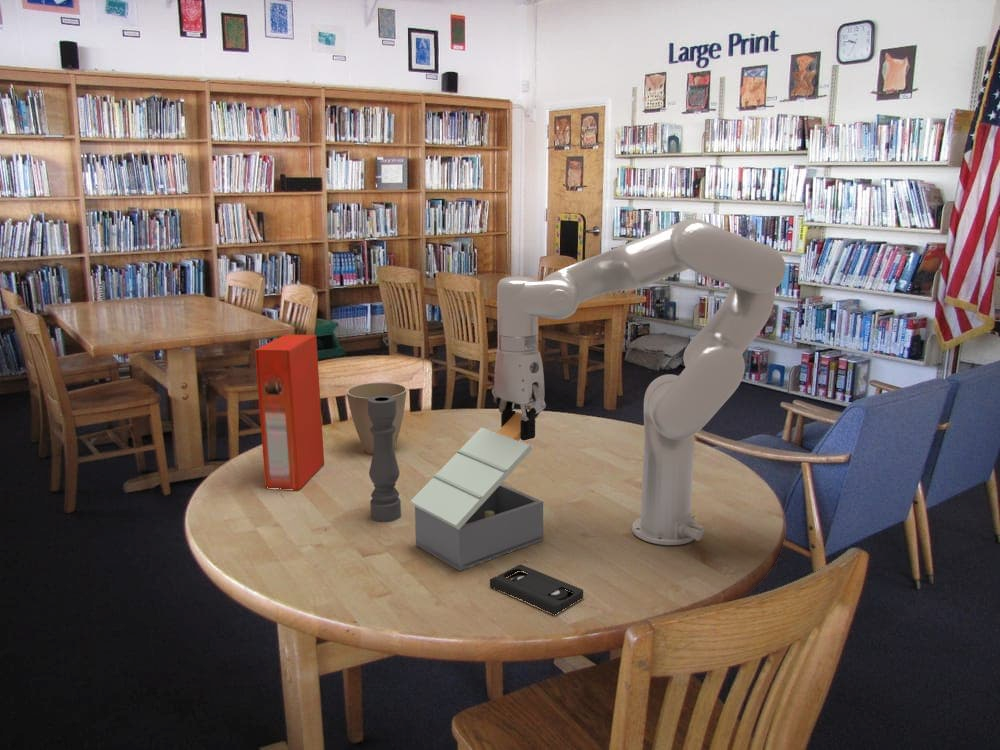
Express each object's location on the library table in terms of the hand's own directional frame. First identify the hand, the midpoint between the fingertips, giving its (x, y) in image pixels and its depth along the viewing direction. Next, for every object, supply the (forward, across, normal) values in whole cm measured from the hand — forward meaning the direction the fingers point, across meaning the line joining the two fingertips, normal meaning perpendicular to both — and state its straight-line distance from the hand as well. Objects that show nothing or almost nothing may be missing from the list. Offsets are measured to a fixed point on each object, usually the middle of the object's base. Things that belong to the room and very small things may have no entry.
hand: (518, 434), depth 164 cm
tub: (+20, 0, +10) cm, 22 cm away
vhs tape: (+21, -22, +14) cm, 33 cm away
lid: (+4, 0, +9) cm, 10 cm away
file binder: (+20, +55, +21) cm, 62 cm away
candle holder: (+20, +22, +17) cm, 34 cm away
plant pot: (+20, +60, -4) cm, 63 cm away
